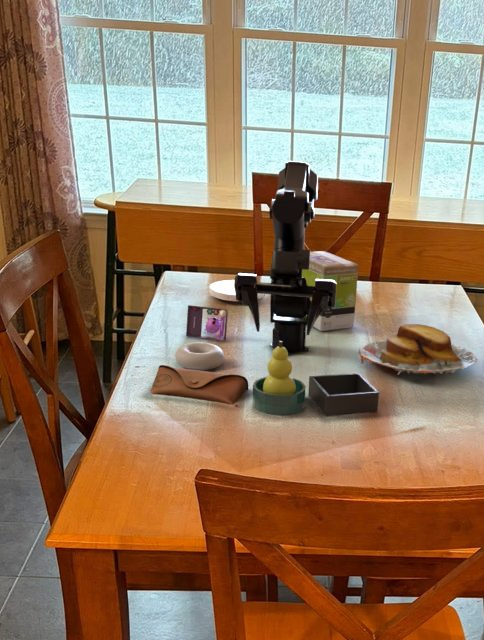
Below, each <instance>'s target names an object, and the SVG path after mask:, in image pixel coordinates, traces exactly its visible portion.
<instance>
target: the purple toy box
mask: <svg viewBox="0 0 484 640" xmlns="http://www.w3.org/2000/svg"><path fill="white" fill-rule="evenodd" d="M204 310H206V313H207V315H210V316H211V317H207V318H206V319H207V321H206V322H205V328H204V331H206V333H208V334H216V333H217V332H218V331H219V333H218V335H217V337H209V336H202V328H203V312H204ZM186 314H187V315H186V330H185V331H186V332H185V336H186V337H188V338H194V339H195V338H196V339H202V340H203V339H204V340H214V341H221V342H226V340H227V332H228V330H227V329H228V317H229V310H228V309H226V308H217V307H208V306H199V305H191V304H188V305H187V313H186ZM212 315H214V316H212ZM215 316H217V317H215ZM218 316H219V317H218ZM222 337H223V338H222Z"/></svg>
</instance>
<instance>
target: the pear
mask: <svg viewBox="0 0 484 640" xmlns="http://www.w3.org/2000/svg"><path fill="white" fill-rule="evenodd" d="M271 354H272V356H271V358H270V359H269V361H268V363H267V372H268V373H269V375H268V376H266V377H267V378H266V379H265V381H264V384H263V392H265V393H269V394H275V395H289V394H294V393H295V391H296V386H295V382H294V380H293V379H292V378H293V377H292V376H291V374H292V370H293V364H292V361H291V360H290V358H288V357H289V354H288V352H287V350H286V349H285V348H284V347H282V341H279V347H276V348H275V349H274V348H273V350H272V353H271Z"/></svg>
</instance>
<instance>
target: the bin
mask: <svg viewBox="0 0 484 640" xmlns="http://www.w3.org/2000/svg"><path fill="white" fill-rule="evenodd" d="M307 394H308V397H309V398H310V399H311V400H312V402H313V403H314V404H315V406H317V407H318V409H319V410H320V411H321V413H322V414H323V415H325V417H334V416H335V417H337V416H346V415H347V416H348V415H358V414H371V413H378V410H379V409H378V407H379V397H380V392H379V391H378V389H376V388H375V387H374V386H373V385H372V384H371V383H370V382H369V381H368V380H367V378H365V377H364V376H363V375H362V374H361V373H359V372H350V373H338V374H337V373H335V374H323V375H309V376H308V393H307Z"/></svg>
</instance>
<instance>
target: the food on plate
mask: <svg viewBox="0 0 484 640" xmlns="http://www.w3.org/2000/svg"><path fill="white" fill-rule="evenodd" d="M375 344H377V346H376V345H375ZM358 355H359V357H360V364H361V365H363V364H364V360H365V361H368V362H370V363H374V364H379V365H380V366H383V367H387V368H388V369H390V368H391V369H393V370H395V371H396V372H397V375H398V376H399V375H400V374H401V373H402V372H407V374H411V373H414V374H419V373H420V374H424V375H426V374H433V375H435V374H438V373H439V375H443V373H444V372H446V373H450V374H452V373H453V374H454V373H456V372H457V370H464V369H466V368H468V367H471V366H472V365H473V364H475V363H477V361H478V358H477V356H476V355H475V354H474V353H473V352H472V351H470V350H468V349H467V348H464V347H461V346H458V345H455V344H452V341H451V337H450V335H449V334H448V333H446V332H445V331H443V330H441V329H439V328H436V327H433V326H430V325H427V324H426V325H425V324H420V323H419V324H418V323H417V324H416V323H405V324H400V325H399V326H398V329H397V332H394V333H391V334H390V335H388V336H387V337H386V339H383V340H376V341H373V342H370V343H367V344H366V345H365V346H363V347H361V348H359V350H358Z"/></svg>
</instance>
